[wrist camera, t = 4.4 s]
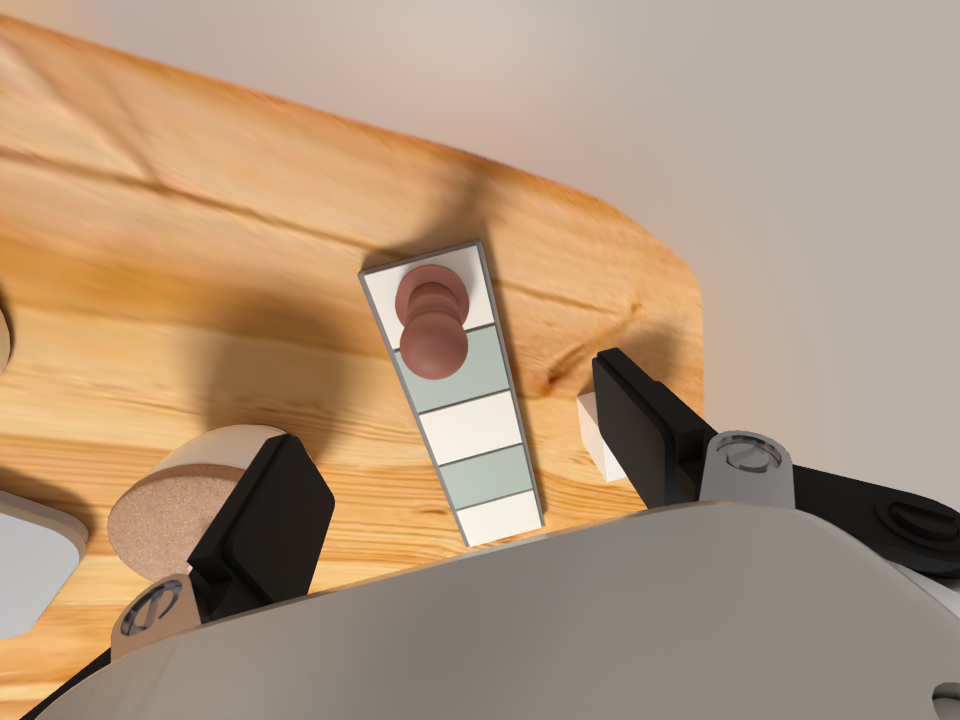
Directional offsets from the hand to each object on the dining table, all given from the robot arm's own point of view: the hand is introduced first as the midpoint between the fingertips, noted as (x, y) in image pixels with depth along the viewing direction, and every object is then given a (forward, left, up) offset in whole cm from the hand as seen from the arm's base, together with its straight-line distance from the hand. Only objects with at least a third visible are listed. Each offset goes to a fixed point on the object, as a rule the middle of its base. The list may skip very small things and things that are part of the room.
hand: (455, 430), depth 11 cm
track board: (+11, -1, -15) cm, 19 cm away
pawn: (0, -1, -14) cm, 14 cm away
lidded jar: (+9, -17, -15) cm, 25 cm away
